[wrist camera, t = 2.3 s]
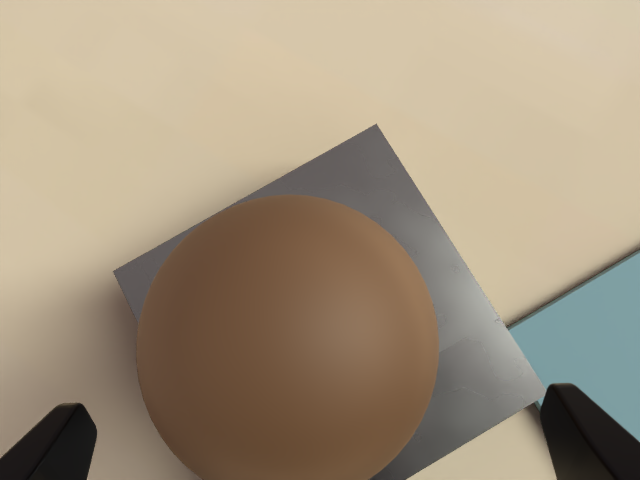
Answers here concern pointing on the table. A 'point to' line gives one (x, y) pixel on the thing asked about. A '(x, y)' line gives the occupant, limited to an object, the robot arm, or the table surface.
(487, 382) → the block
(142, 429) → the table surface
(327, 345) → the brown wooden pin
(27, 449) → the robot arm
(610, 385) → the blue square plate
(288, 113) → the table surface
